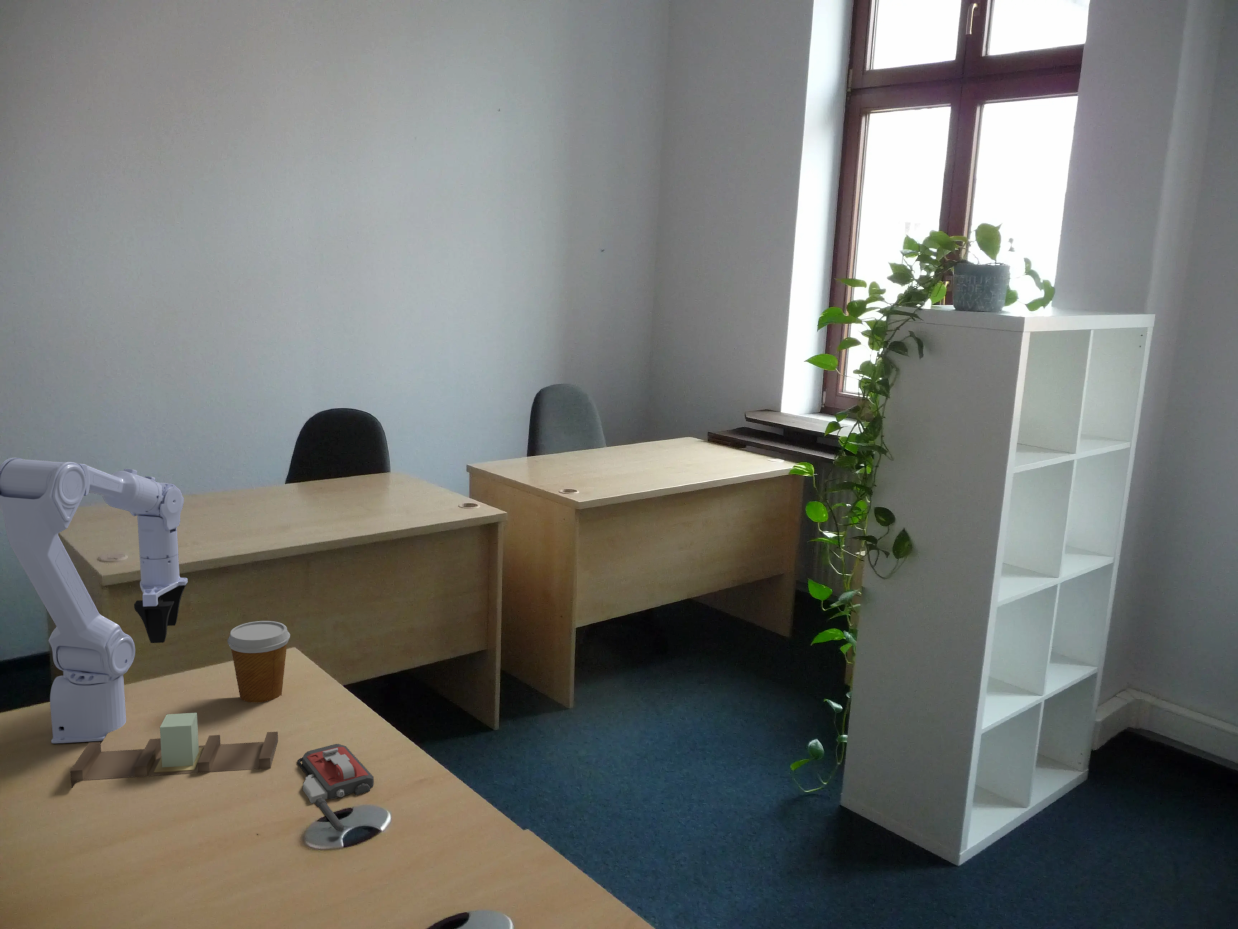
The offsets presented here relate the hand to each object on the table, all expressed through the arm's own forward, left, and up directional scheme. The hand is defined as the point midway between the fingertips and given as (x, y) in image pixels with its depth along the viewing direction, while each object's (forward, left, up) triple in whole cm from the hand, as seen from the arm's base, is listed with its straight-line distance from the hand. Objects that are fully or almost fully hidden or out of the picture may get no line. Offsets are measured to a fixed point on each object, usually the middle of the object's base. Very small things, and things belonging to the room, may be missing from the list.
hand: (163, 633), depth 160 cm
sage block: (+8, -28, -8) cm, 30 cm away
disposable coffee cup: (+16, -7, -10) cm, 20 cm away
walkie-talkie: (+30, -39, -10) cm, 50 cm away
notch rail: (+8, -28, -9) cm, 31 cm away
